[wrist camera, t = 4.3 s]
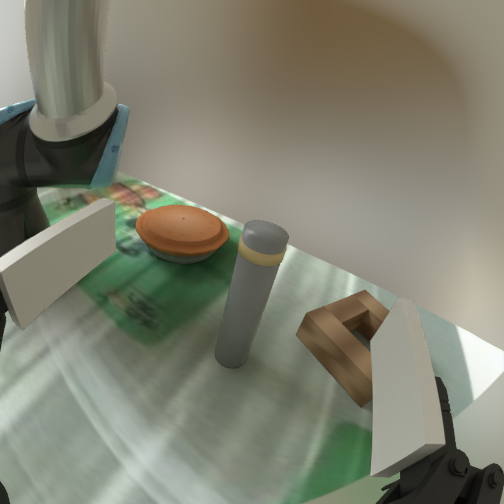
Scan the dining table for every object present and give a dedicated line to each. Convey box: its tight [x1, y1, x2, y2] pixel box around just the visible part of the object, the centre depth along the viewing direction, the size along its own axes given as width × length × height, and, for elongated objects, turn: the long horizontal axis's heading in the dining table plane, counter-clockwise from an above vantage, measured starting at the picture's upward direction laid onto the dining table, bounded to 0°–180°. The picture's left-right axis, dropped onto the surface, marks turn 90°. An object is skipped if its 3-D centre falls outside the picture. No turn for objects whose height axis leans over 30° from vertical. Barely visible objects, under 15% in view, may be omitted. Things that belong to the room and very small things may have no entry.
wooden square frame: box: [296, 290, 390, 407], centre depth 34 cm, size 13×13×4 cm
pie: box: [136, 205, 229, 264], centre depth 46 cm, size 15×16×5 cm
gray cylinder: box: [215, 220, 289, 368], centre depth 26 cm, size 4×4×16 cm
